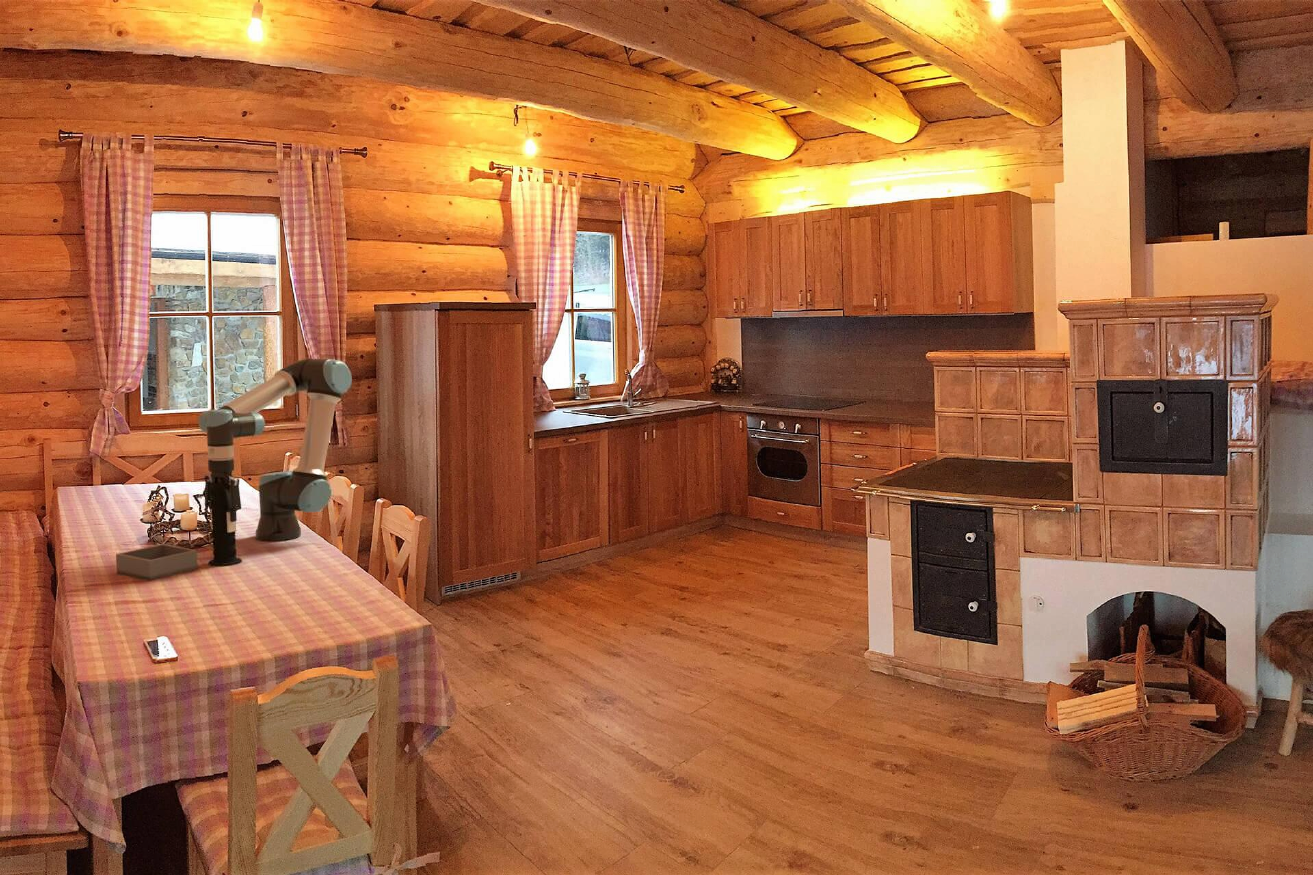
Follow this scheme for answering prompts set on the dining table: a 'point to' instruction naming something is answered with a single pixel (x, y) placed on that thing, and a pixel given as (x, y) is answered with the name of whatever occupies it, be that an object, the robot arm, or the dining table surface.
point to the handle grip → (222, 529)
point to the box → (156, 562)
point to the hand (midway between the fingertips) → (223, 529)
